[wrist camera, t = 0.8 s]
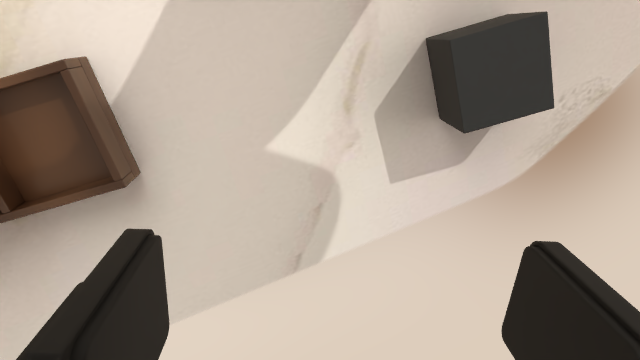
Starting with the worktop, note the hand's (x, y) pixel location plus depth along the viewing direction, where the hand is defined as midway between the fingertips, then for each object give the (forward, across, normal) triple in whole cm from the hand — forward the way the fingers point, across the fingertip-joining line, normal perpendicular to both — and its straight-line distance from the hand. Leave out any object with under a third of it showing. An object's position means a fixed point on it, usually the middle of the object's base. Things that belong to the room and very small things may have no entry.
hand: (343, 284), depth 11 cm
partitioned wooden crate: (+16, +19, +2) cm, 25 cm away
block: (+16, -9, -4) cm, 19 cm away
